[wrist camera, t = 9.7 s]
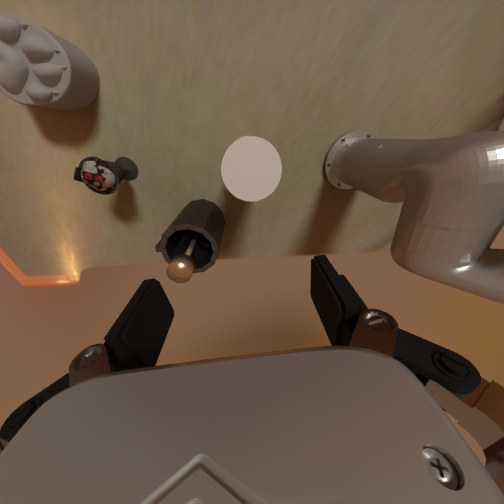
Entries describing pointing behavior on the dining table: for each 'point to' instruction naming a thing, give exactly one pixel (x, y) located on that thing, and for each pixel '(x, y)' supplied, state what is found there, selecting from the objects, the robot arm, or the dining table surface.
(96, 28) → the dining table surface
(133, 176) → the sundae
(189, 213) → the press carafe
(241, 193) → the cylindrical container
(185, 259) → the plunger
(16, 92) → the lumpy-topped squat cylinder
